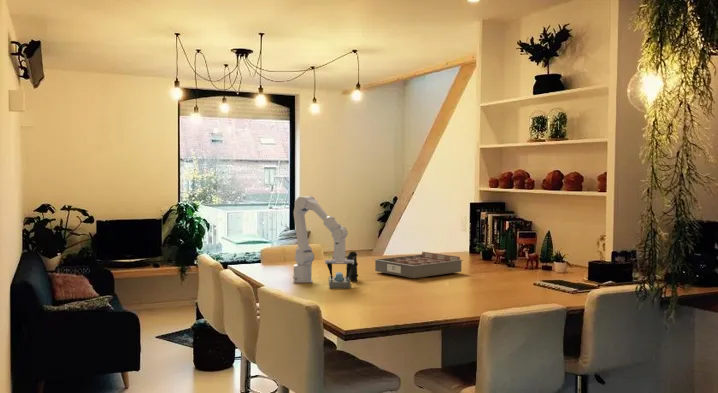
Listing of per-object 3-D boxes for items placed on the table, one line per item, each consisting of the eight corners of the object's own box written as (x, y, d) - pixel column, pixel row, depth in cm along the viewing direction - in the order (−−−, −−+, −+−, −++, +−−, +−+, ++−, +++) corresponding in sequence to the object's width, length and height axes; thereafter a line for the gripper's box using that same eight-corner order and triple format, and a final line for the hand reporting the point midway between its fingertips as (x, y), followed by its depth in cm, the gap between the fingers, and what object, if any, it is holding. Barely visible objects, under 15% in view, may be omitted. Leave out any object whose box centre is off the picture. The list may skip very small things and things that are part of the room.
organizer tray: (373, 273, 345) (373, 256, 344) (422, 267, 370) (422, 251, 370) (413, 281, 320) (413, 262, 320) (463, 274, 346) (463, 256, 346)
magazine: (352, 279, 312) (349, 251, 318) (347, 286, 324) (344, 259, 330) (359, 279, 313) (356, 251, 319) (354, 286, 325) (351, 259, 331)
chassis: (329, 288, 295) (329, 282, 295) (328, 282, 313) (328, 276, 313) (350, 288, 295) (350, 282, 295) (348, 282, 313) (348, 276, 313)
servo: (336, 287, 299) (336, 274, 298) (335, 283, 309) (335, 271, 309) (342, 287, 299) (343, 274, 299) (342, 283, 309) (342, 271, 309)
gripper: (325, 252, 299) (324, 279, 299) (354, 252, 300) (354, 279, 300) (324, 250, 306) (324, 277, 306) (353, 250, 307) (353, 277, 307)
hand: (339, 278), depth 304 cm, fingers open, 7 cm apart
